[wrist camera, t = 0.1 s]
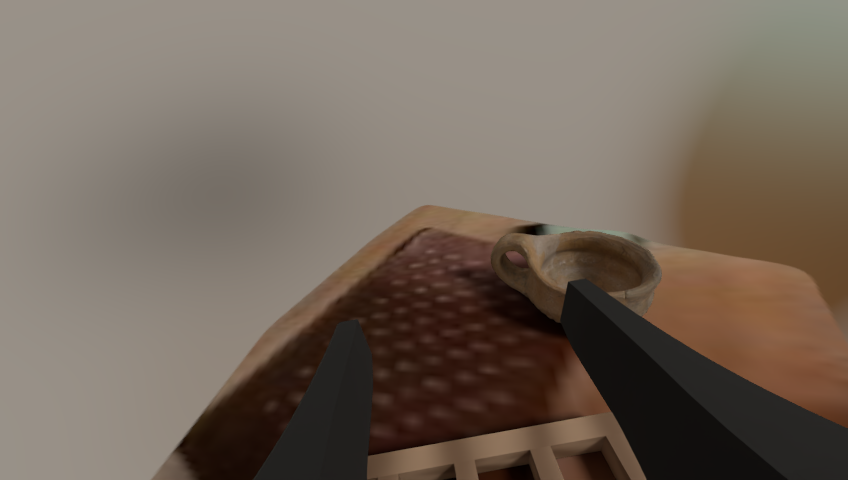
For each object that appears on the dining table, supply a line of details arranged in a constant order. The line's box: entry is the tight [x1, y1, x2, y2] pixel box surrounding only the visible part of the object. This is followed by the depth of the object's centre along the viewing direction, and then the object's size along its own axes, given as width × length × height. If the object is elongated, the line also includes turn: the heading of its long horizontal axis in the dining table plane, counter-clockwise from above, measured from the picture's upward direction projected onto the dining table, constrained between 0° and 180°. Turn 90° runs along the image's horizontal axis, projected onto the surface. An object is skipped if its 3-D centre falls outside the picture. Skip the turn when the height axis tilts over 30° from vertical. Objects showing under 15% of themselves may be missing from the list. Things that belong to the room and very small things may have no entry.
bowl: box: [491, 231, 662, 323], centre depth 36 cm, size 18×14×10 cm
